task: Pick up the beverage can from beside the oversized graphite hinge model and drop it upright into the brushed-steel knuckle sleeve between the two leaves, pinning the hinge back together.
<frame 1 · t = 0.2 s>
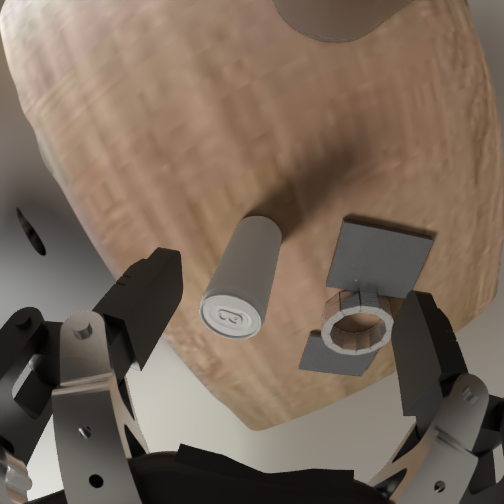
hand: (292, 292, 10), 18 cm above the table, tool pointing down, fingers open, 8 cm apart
beverage can: (259, 232, 30), on the table
hinge model: (356, 314, 33), on the table
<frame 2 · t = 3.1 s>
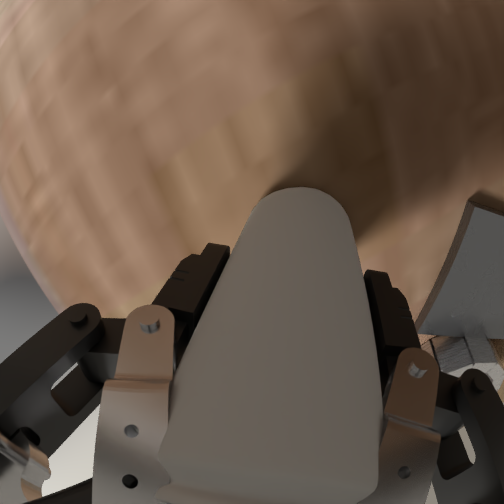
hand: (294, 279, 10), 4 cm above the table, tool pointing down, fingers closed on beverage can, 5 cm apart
beverage can: (299, 229, 14), on the table, touching gripper
hinge model: (443, 369, 17), on the table
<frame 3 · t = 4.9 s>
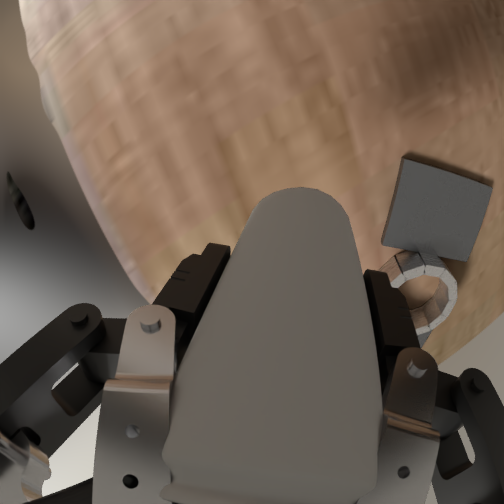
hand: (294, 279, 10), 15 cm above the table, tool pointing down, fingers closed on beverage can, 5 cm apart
beverage can: (300, 229, 14), point 11 cm above the table, touching gripper
hinge model: (411, 286, 26), on the table
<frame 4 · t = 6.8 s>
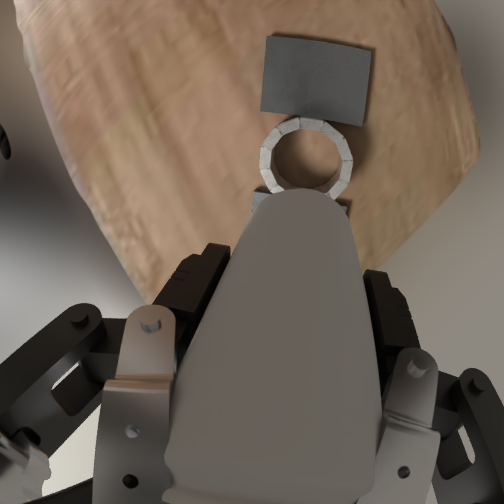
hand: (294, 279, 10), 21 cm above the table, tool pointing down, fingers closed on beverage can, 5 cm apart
beverage can: (299, 230, 14), point 17 cm above the table, touching gripper
hinge model: (306, 157, 28), on the table
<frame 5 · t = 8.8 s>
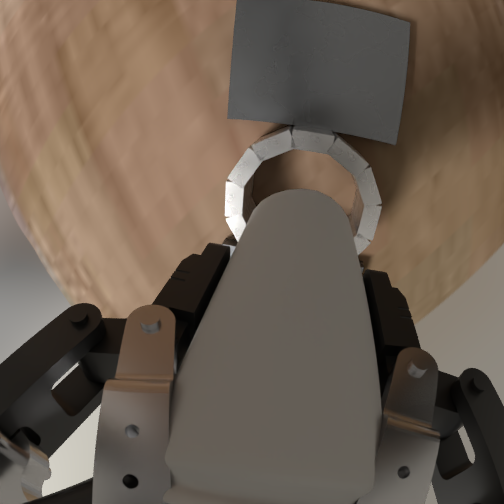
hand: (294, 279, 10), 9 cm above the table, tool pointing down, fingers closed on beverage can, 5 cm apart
beverage can: (299, 230, 14), point 5 cm above the table, touching gripper
hinge model: (303, 192, 18), on the table
when the fingers open (5 cm above the table, at t = 10.5 s): beverage can drops 1 cm, resting in hinge model.
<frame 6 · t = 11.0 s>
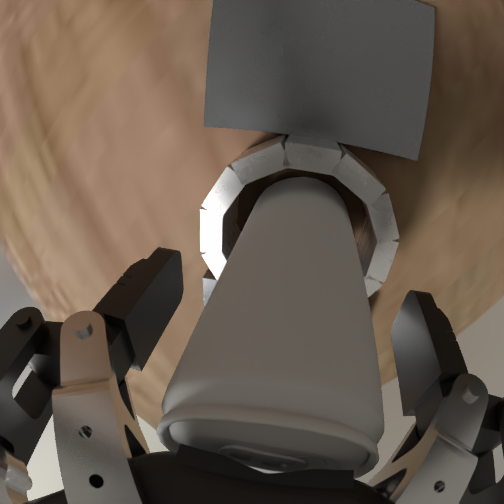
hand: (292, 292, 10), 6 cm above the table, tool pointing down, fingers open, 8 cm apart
beverage can: (301, 216, 15), resting in hinge model
hinge model: (300, 218, 15), on the table
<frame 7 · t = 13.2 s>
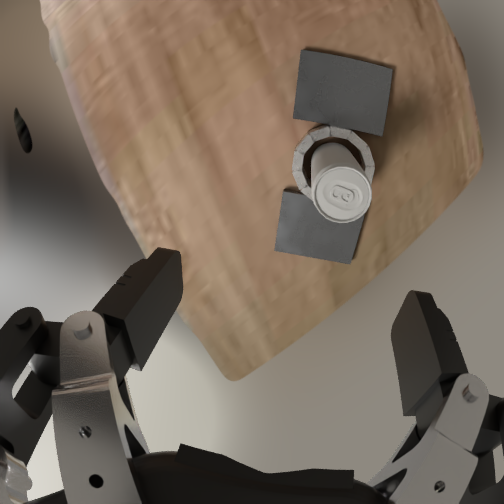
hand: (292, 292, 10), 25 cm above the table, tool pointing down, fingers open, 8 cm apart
beverage can: (332, 161, 31), resting in hinge model
hinge model: (331, 162, 31), on the table
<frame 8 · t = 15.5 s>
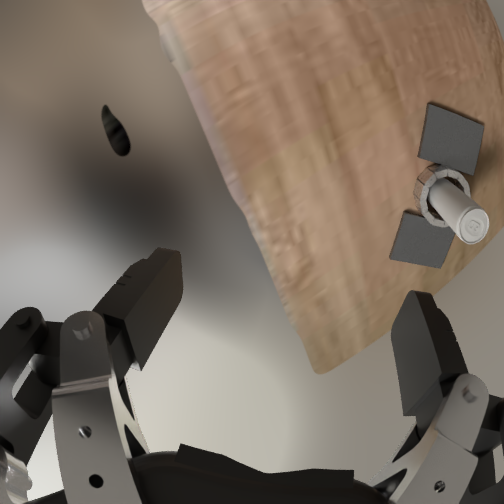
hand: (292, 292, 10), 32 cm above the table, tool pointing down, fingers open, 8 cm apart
beverage can: (438, 191, 36), resting in hinge model
hinge model: (438, 192, 36), on the table
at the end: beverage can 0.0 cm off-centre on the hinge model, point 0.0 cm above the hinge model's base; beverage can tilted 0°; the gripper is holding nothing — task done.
